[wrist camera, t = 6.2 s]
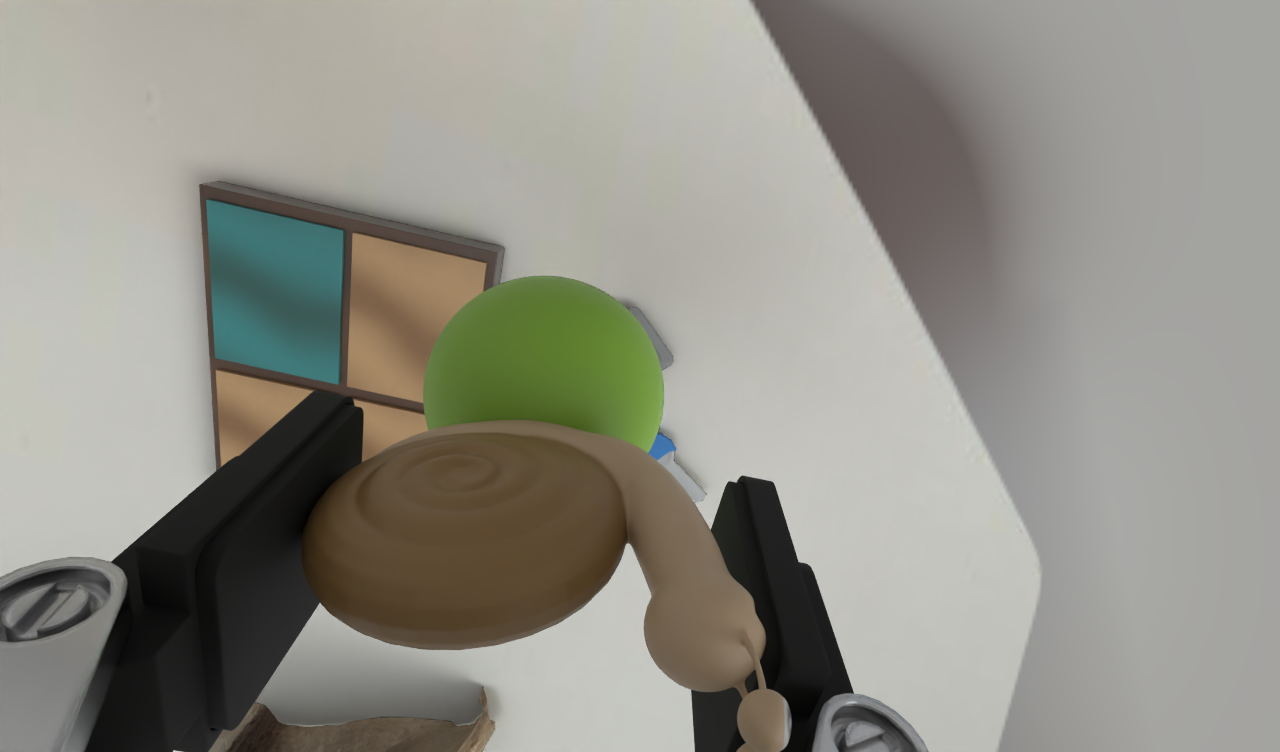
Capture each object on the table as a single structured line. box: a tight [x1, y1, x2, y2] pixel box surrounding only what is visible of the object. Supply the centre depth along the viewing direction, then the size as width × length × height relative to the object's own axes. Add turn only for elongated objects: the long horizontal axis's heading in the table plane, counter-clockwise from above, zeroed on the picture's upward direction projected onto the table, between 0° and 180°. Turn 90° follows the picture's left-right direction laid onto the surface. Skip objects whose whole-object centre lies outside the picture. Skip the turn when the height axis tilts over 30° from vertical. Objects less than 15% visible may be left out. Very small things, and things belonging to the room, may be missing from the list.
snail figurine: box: [301, 276, 792, 752], centre depth 11 cm, size 5×6×12 cm
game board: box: [199, 181, 505, 471], centre depth 29 cm, size 16×12×1 cm
